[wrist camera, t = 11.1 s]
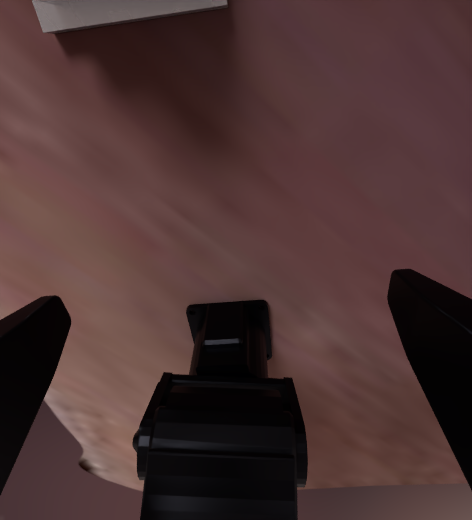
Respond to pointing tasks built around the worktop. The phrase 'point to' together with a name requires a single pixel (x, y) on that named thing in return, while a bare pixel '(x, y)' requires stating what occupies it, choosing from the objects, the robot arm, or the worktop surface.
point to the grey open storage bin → (112, 12)
